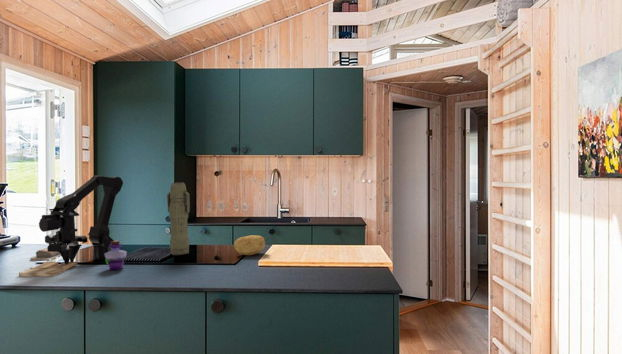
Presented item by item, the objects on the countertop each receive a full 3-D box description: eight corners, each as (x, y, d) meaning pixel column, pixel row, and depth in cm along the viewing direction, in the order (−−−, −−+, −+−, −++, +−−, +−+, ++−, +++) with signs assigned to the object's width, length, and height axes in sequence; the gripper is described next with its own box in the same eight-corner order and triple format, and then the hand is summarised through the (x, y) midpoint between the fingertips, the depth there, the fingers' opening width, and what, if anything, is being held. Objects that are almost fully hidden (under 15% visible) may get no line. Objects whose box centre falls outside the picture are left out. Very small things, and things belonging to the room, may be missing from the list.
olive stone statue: (173, 250, 209) (171, 182, 208) (194, 251, 207) (193, 182, 205) (163, 254, 200) (162, 183, 199) (186, 255, 198) (184, 182, 197)
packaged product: (54, 243, 210) (73, 243, 209) (54, 252, 210) (74, 252, 210) (29, 251, 192) (50, 251, 191) (29, 261, 192) (50, 261, 192)
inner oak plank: (77, 264, 180) (77, 261, 180) (63, 271, 171) (63, 268, 171) (66, 264, 180) (66, 261, 180) (51, 271, 171) (51, 268, 171)
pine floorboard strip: (64, 271, 171) (63, 267, 171) (52, 276, 164) (52, 271, 164) (31, 271, 171) (31, 267, 171) (18, 276, 164) (18, 271, 164)
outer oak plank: (58, 264, 181) (58, 261, 180) (43, 271, 171) (43, 268, 171) (47, 264, 181) (47, 261, 181) (32, 271, 172) (32, 268, 172)
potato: (263, 257, 193) (263, 236, 193) (233, 257, 193) (232, 237, 193) (266, 252, 203) (266, 233, 203) (237, 252, 204) (237, 233, 203)
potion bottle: (99, 270, 172) (99, 242, 172) (116, 265, 180) (115, 238, 180) (115, 272, 169) (114, 243, 168) (131, 267, 177) (130, 239, 176)
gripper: (63, 223, 187) (65, 257, 188) (33, 231, 169) (36, 269, 170) (87, 223, 187) (89, 257, 188) (59, 231, 168) (61, 269, 169)
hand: (69, 262), depth 179 cm, fingers closed on inner oak plank, 3 cm apart
